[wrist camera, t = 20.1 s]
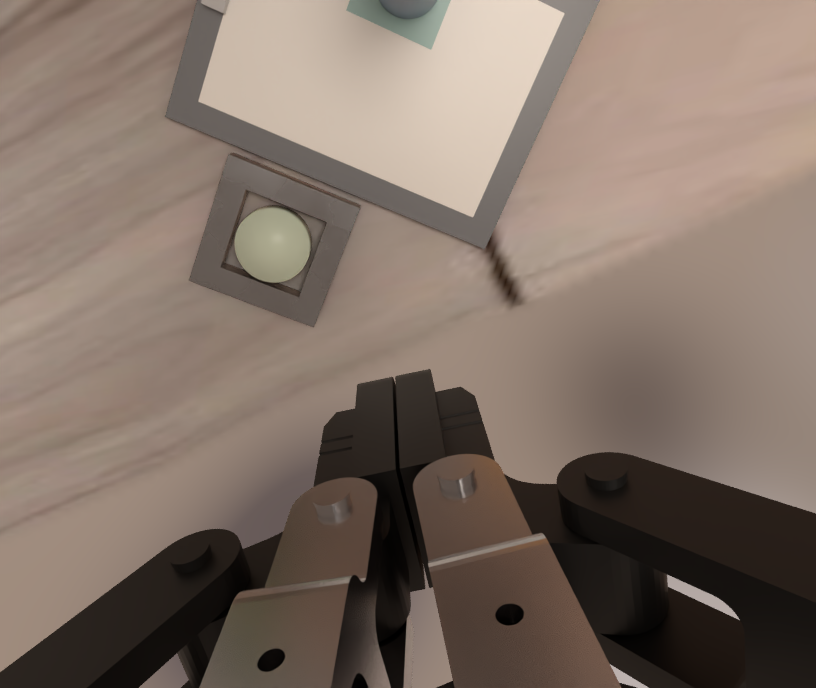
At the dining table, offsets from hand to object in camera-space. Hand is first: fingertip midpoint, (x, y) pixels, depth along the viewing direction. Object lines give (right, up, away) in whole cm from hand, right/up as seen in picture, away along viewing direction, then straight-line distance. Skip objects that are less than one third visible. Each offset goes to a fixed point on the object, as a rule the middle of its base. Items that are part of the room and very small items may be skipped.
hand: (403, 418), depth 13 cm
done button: (-8, +8, +27) cm, 29 cm away
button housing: (-8, +8, +27) cm, 29 cm away
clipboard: (-2, +18, +23) cm, 29 cm away
